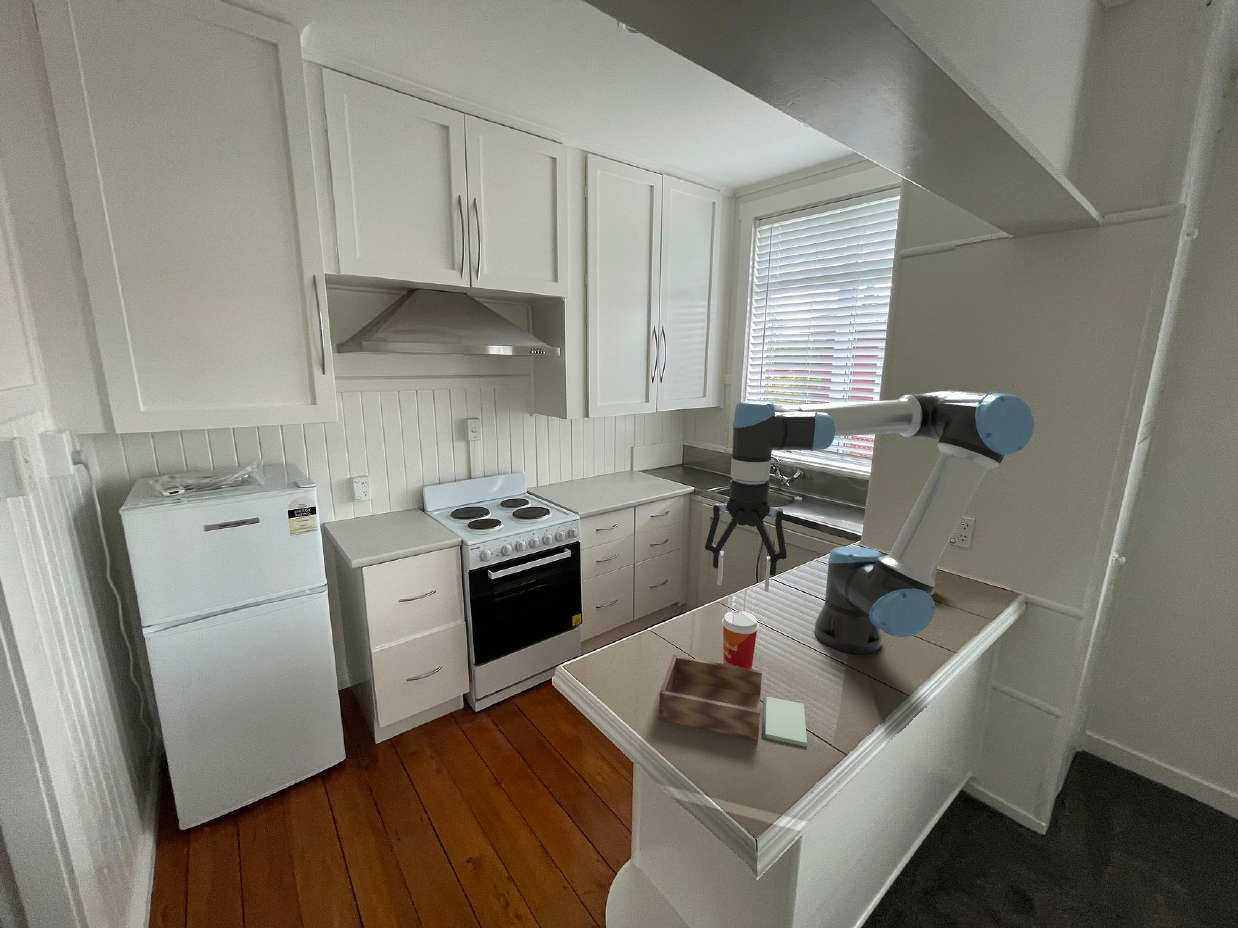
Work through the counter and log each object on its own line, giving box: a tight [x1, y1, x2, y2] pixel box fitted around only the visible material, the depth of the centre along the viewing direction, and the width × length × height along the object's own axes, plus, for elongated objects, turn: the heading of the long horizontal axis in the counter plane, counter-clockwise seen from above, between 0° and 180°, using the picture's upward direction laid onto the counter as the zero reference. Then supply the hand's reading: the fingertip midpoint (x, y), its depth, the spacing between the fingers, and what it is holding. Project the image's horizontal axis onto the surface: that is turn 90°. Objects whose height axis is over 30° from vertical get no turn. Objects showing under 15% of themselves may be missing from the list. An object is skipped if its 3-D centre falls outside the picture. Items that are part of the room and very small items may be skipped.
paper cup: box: [721, 610, 760, 669], centre depth 108 cm, size 8×8×14 cm
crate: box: [658, 654, 763, 741], centre depth 98 cm, size 18×13×6 cm
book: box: [761, 696, 808, 748], centre depth 95 cm, size 2×11×8 cm
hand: (742, 585), depth 105 cm, fingers open, 9 cm apart
